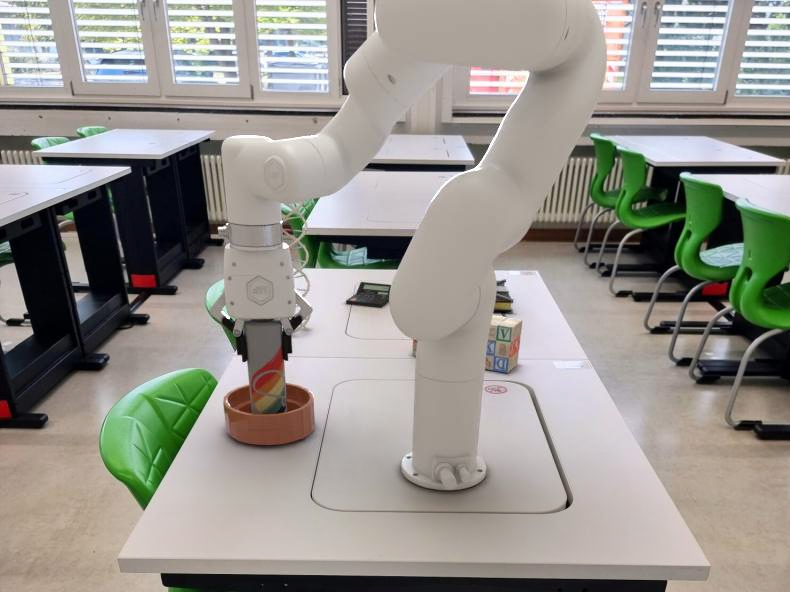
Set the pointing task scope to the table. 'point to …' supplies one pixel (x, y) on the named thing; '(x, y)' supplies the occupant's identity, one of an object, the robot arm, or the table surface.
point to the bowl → (269, 417)
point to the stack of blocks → (500, 344)
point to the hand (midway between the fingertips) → (265, 357)
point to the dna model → (297, 248)
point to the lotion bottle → (265, 366)
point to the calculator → (371, 295)
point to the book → (503, 298)
